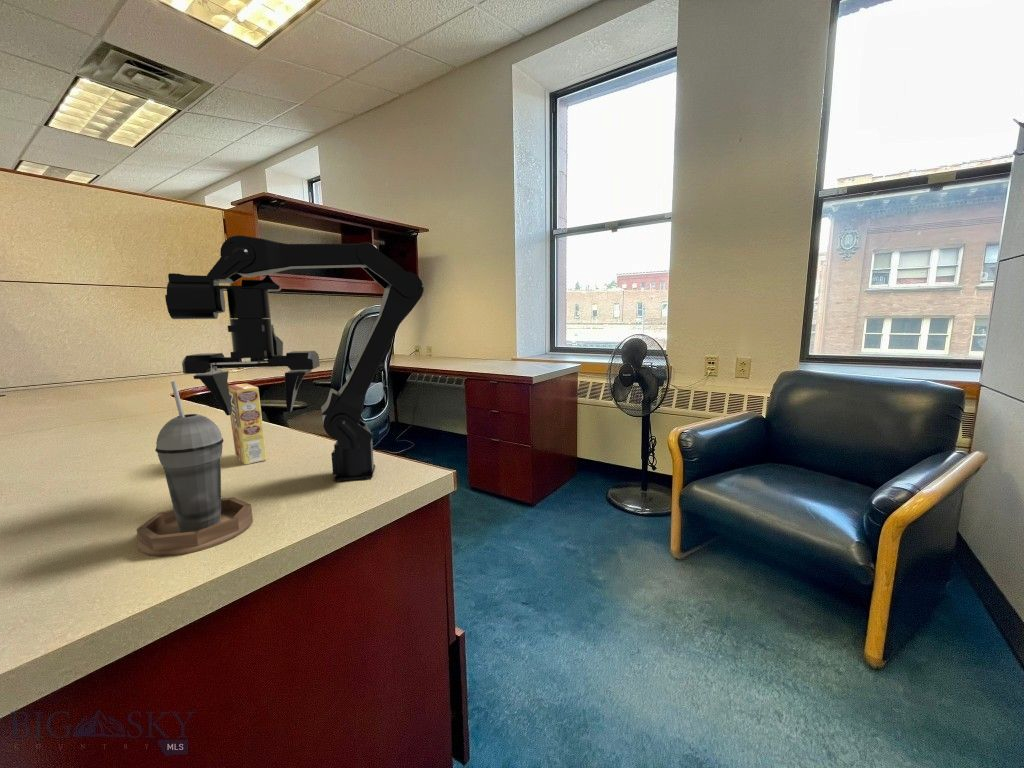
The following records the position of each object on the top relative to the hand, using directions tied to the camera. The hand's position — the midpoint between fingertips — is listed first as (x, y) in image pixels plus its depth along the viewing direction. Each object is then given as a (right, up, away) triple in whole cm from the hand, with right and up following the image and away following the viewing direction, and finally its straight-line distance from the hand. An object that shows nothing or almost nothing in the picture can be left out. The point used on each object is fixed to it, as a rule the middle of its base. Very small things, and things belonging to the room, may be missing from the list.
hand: (260, 413), depth 72 cm
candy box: (-13, -11, +18) cm, 25 cm away
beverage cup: (0, -15, -14) cm, 20 cm away
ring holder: (0, -15, -13) cm, 20 cm away
